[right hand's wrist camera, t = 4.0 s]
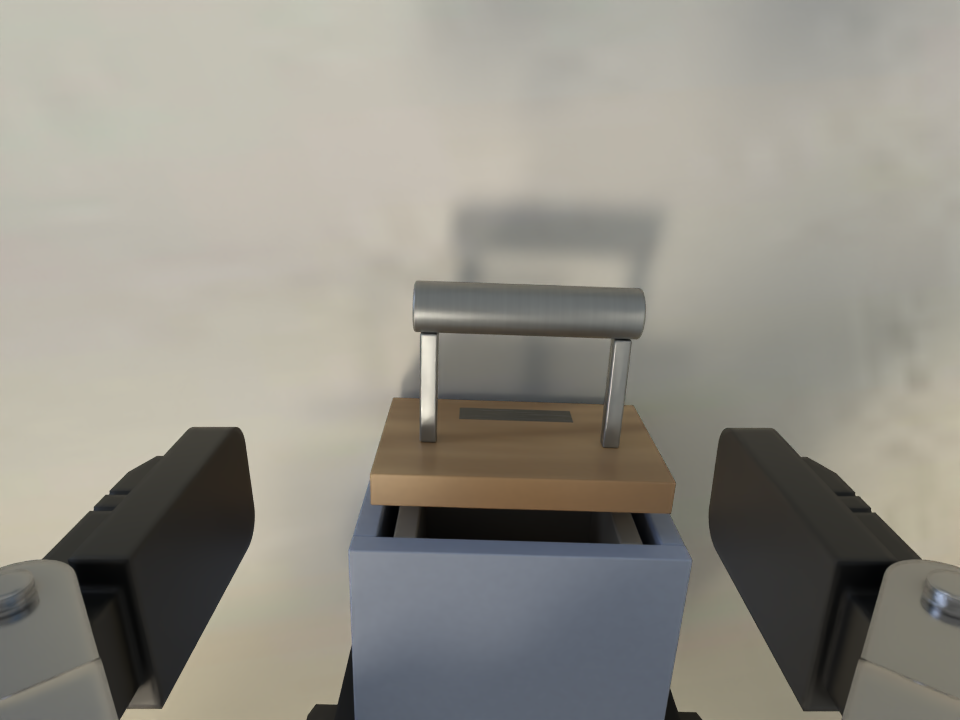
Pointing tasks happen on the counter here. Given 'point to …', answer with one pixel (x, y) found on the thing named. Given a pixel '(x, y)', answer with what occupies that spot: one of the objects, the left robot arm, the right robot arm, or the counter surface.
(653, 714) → the cabinet
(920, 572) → the right robot arm
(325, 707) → the left robot arm
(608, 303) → the drawer
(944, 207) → the counter surface
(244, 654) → the counter surface
